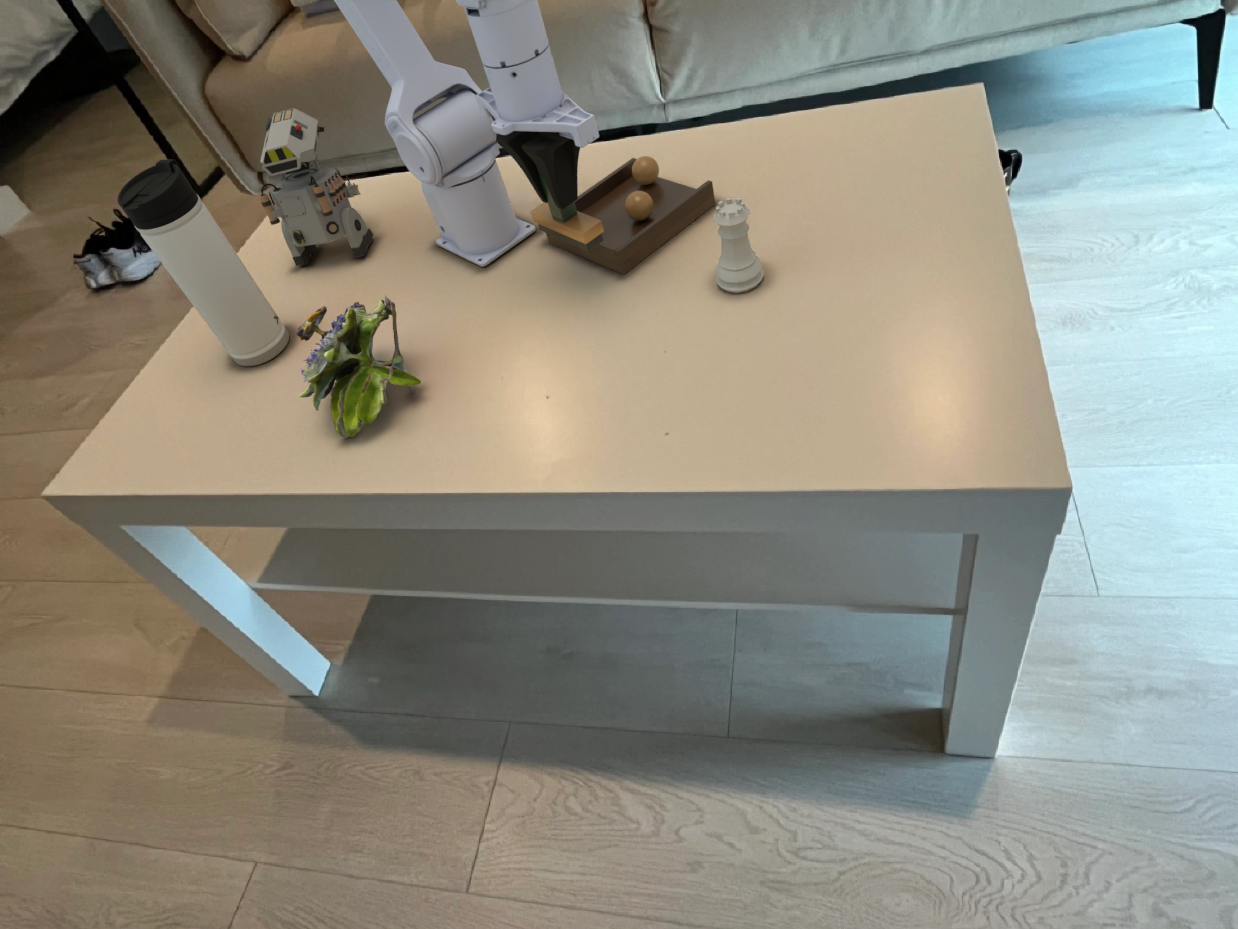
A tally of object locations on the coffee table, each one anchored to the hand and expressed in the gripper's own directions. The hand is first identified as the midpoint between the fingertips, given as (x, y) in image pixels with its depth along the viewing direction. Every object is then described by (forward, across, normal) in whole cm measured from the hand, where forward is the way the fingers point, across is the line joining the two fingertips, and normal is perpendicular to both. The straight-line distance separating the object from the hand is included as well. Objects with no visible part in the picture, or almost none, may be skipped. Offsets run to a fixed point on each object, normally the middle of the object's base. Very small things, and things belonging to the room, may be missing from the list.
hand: (559, 199), depth 77 cm
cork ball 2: (+6, 0, +9) cm, 11 cm away
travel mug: (+9, -23, -27) cm, 37 cm away
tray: (+9, -2, +9) cm, 13 cm away
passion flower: (+9, -4, -23) cm, 25 cm away
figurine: (+9, -33, -11) cm, 36 cm away
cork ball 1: (+6, -5, +15) cm, 17 cm away
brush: (+4, 0, 0) cm, 4 cm away
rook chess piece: (+9, +14, +8) cm, 19 cm away
